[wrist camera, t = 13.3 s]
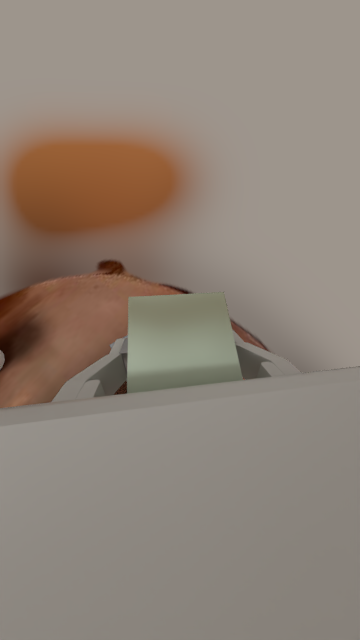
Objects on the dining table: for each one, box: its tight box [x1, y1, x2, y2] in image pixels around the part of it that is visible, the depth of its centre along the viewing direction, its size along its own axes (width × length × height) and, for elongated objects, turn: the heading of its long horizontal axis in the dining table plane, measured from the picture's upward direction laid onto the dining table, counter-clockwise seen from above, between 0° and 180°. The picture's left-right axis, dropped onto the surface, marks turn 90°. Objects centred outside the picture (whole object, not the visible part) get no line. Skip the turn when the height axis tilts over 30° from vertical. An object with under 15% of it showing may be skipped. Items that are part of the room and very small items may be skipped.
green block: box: [127, 292, 243, 393], centre depth 11 cm, size 5×5×10 cm
